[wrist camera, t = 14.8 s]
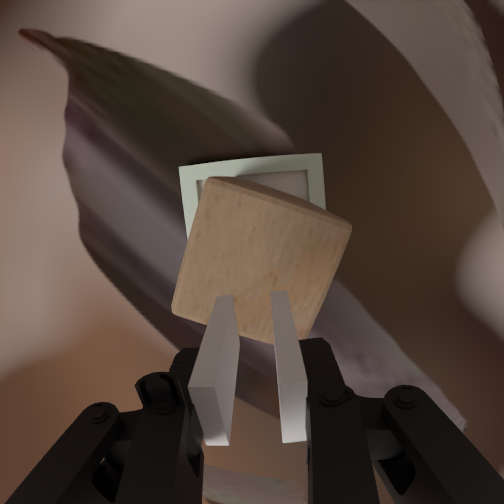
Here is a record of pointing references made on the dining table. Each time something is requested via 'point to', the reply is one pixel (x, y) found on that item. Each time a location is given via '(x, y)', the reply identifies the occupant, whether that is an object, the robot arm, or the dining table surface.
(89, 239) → the dining table surface
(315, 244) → the wooden block
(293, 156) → the square tray
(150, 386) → the robot arm
